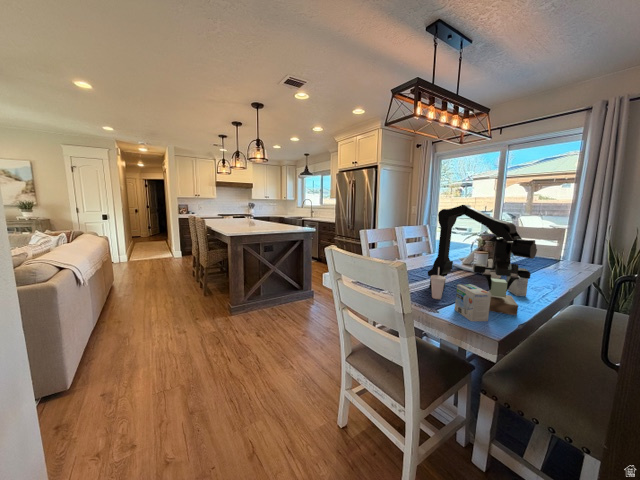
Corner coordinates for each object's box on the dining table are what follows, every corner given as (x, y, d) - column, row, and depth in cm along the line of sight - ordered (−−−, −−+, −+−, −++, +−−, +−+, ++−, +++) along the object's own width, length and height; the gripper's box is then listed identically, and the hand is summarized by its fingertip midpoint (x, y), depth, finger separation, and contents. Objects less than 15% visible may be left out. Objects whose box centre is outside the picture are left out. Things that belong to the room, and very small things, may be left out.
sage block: (490, 295, 105) (492, 281, 105) (489, 291, 110) (490, 278, 109) (505, 297, 103) (507, 283, 102) (503, 293, 108) (504, 279, 107)
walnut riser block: (480, 309, 105) (481, 300, 104) (477, 299, 115) (478, 291, 115) (516, 315, 99) (518, 305, 99) (510, 304, 110) (511, 295, 110)
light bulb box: (453, 309, 104) (456, 284, 103) (469, 309, 105) (472, 283, 103) (471, 322, 94) (474, 293, 92) (488, 321, 94) (492, 293, 93)
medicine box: (526, 296, 120) (528, 278, 119) (515, 295, 121) (517, 278, 120) (517, 291, 128) (519, 274, 127) (507, 290, 129) (509, 273, 128)
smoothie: (444, 296, 119) (446, 266, 117) (444, 301, 113) (447, 270, 111) (429, 294, 121) (431, 265, 119) (428, 298, 116) (430, 268, 114)
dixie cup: (506, 278, 149) (508, 261, 147) (495, 279, 146) (497, 262, 145) (493, 274, 157) (495, 258, 155) (482, 275, 154) (484, 259, 153)
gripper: (477, 254, 101) (473, 293, 103) (537, 260, 93) (531, 301, 95) (474, 250, 111) (470, 285, 113) (528, 254, 103) (523, 292, 105)
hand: (497, 290), depth 106 cm, fingers closed on sage block, 5 cm apart
